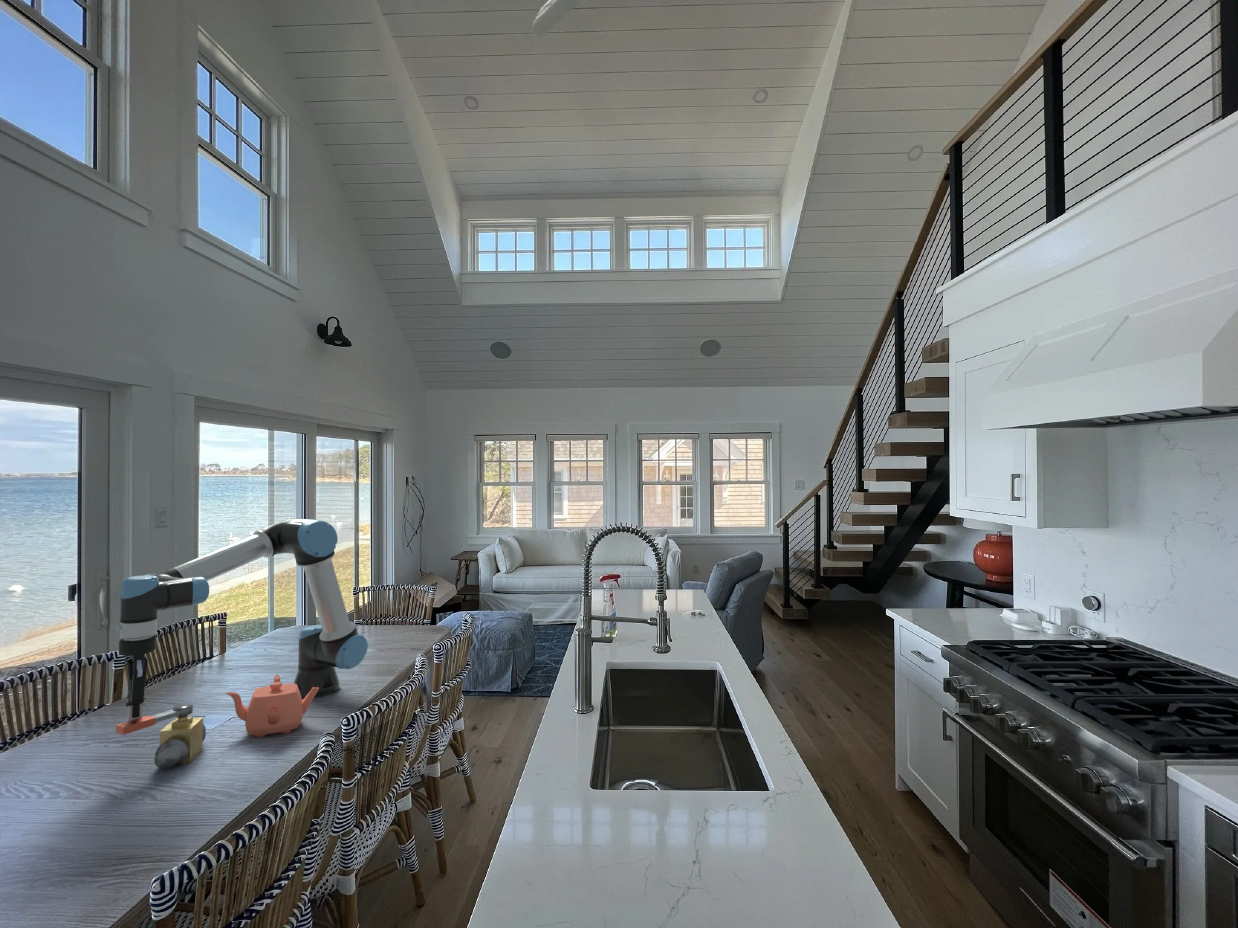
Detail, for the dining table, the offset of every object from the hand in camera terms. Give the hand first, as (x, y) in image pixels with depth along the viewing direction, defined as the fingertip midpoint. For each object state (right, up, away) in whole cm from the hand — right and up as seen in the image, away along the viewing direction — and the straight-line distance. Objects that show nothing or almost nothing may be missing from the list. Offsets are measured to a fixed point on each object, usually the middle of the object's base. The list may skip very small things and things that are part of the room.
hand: (134, 728), depth 154 cm
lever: (+4, +1, +2) cm, 5 cm away
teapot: (+20, -12, +26) cm, 35 cm away
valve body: (+7, -11, +7) cm, 15 cm away
